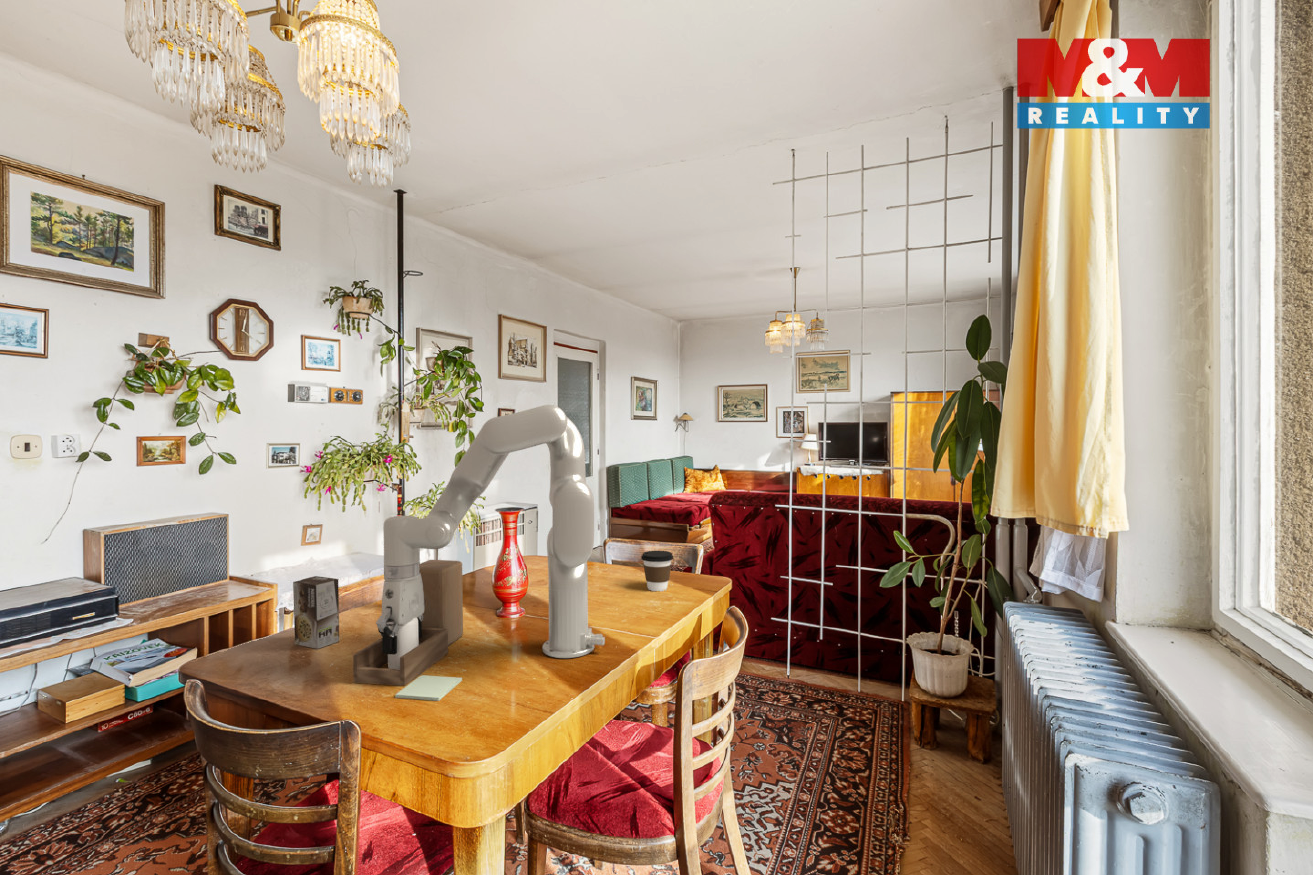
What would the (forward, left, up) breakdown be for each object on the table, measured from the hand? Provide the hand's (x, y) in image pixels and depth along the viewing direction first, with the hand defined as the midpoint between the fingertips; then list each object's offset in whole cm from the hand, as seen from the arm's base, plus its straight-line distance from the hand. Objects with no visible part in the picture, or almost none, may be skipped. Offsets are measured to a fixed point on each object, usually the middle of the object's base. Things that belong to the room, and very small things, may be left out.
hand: (402, 645), depth 134 cm
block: (+1, -16, -5) cm, 17 cm away
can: (0, 0, -5) cm, 5 cm away
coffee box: (+31, -11, -5) cm, 33 cm away
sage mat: (-12, +9, -5) cm, 16 cm away
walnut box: (0, 0, -5) cm, 5 cm away
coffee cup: (-47, -72, -5) cm, 86 cm away
